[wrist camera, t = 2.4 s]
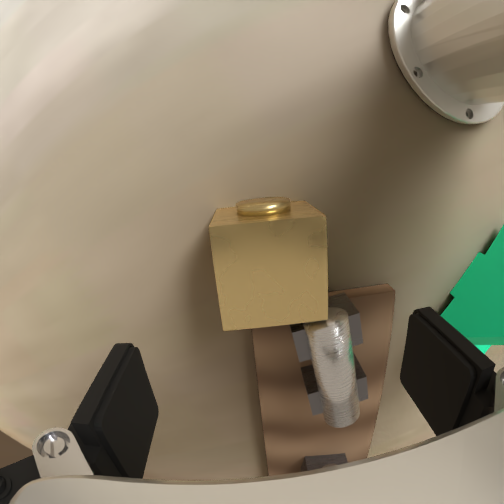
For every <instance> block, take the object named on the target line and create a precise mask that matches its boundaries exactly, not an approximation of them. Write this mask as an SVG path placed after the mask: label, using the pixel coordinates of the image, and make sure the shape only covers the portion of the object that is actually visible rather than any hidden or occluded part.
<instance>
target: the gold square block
mask: <svg viewBox="0 0 504 504" xmlns="http://www.w3.org/2000/svg"><path fill="white" fill-rule="evenodd" d="M209 235H210V242H211V250H212V257H213V265H214V272H215V279H216V286H217V293H218V300H219V306H220V313H221V320H222V326H223V331H229V330H240V329H251V328H261V327H271V326H280V325H289V324H297V323H306V322H313V321H321V320H328V258H327V226H326V215H324V214H323V213H321V212H320V211H319V210H317V209H316V208H314V207H313V206H312V205H310V204H309V203H307V202H306V201H291V202H290V199H289V198H285V197H267V198H256V199H249V200H244V201H240V202H238V203H236V207H228V208H219V209H217V210H216V212H215V214H214V216H213V218H212V221H211V223H210V225H209Z"/></svg>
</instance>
